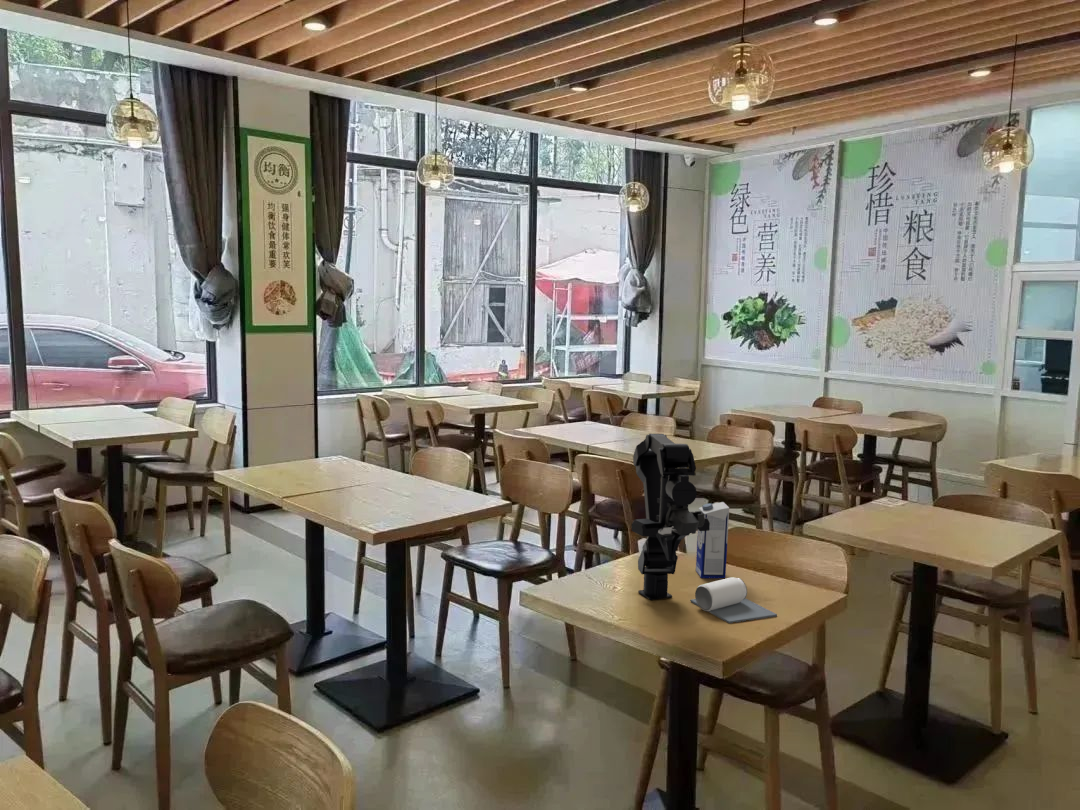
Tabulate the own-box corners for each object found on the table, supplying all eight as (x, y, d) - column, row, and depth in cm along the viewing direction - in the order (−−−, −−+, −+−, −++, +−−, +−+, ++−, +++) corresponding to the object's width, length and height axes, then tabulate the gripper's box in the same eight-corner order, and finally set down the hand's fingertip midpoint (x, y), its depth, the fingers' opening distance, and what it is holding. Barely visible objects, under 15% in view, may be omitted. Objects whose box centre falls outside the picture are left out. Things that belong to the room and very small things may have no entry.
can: (690, 590, 214) (726, 581, 220) (701, 615, 211) (736, 605, 218) (705, 580, 209) (741, 572, 215) (716, 606, 206) (752, 596, 213)
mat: (690, 601, 217) (690, 599, 217) (736, 595, 223) (736, 593, 223) (729, 623, 203) (729, 621, 203) (776, 616, 208) (777, 614, 208)
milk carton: (725, 578, 237) (729, 506, 234) (701, 578, 236) (704, 506, 234) (719, 570, 244) (723, 501, 241) (695, 570, 243) (699, 500, 241)
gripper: (656, 506, 194) (653, 574, 196) (725, 500, 202) (722, 566, 204) (631, 495, 204) (628, 560, 206) (698, 491, 212) (694, 553, 214)
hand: (669, 560), depth 207 cm, fingers closed
